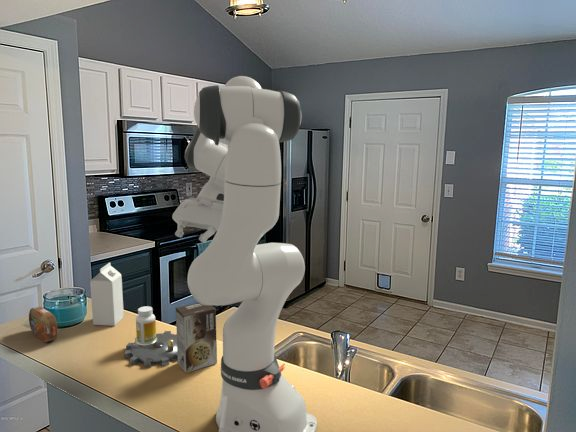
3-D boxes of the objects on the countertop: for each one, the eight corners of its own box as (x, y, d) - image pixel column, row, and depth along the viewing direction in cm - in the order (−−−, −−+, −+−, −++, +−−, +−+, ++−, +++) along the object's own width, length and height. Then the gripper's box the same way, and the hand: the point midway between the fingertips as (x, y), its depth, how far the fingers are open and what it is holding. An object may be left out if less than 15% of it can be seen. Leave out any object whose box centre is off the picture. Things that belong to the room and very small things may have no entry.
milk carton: (93, 325, 139) (88, 268, 135) (103, 316, 146) (99, 261, 142) (114, 326, 138) (111, 269, 135) (124, 316, 145) (120, 262, 142)
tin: (29, 330, 135) (26, 305, 133) (39, 327, 137) (37, 302, 135) (49, 346, 125) (47, 319, 123) (60, 342, 127) (58, 316, 126)
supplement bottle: (159, 336, 129) (157, 305, 127) (151, 345, 124) (150, 313, 122) (141, 335, 129) (140, 304, 127) (133, 343, 124) (131, 312, 122)
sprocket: (203, 346, 127) (203, 331, 126) (155, 374, 112) (154, 358, 111) (161, 330, 136) (160, 316, 136) (111, 354, 121) (110, 339, 121)
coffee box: (207, 353, 123) (206, 300, 120) (217, 363, 118) (217, 308, 115) (176, 362, 118) (174, 307, 115) (185, 373, 113) (183, 315, 110)
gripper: (181, 191, 135) (158, 227, 128) (233, 197, 124) (210, 237, 118) (192, 203, 139) (170, 238, 133) (243, 210, 129) (221, 249, 122)
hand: (189, 238), depth 125 cm, fingers open, 8 cm apart
